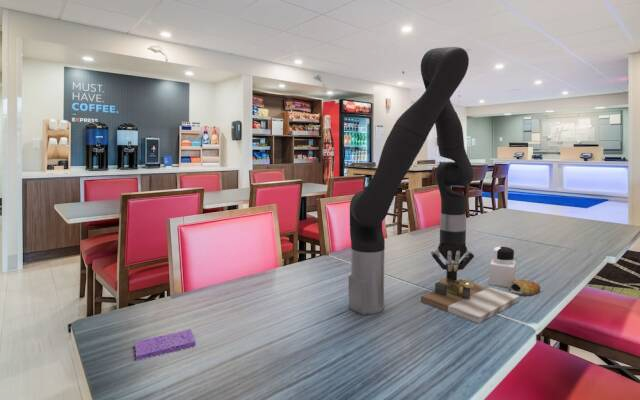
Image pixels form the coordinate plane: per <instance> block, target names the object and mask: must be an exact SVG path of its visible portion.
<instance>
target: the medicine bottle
mask: <svg viewBox="0 0 640 400" xmlns="http://www.w3.org/2000/svg"><path fill="white" fill-rule="evenodd" d="M514 255H515V250H514V249H513V248H511V247H509V246H508V247H507V246H496V247H494V248H493V255H492V259H491V261H490V263H489V270H488V271H489V273H488V284H489V285H490V286H497V287H498V286H499V287H503V288H508V285H509V284H510V283H511V282H512V281H514V280H516V268H517V262H516V261H515V258H514Z"/></svg>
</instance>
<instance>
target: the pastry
mask: <svg viewBox="0 0 640 400" xmlns="http://www.w3.org/2000/svg"><path fill="white" fill-rule="evenodd" d="M507 289H508V290H509V292H512V293H513V294H514V293H515V294H516V295H518V296H519V295H520V296H526V297H527V296H528V297H529V296H530V295H532V296H534V295H537V294H538V293H539V292H540V291H541V285H540V284H538V283H536V282H535V281H530V280H525V279H517V280H516V279H515V280H514V281H512V282H511V283H510V284H509V285H508V287H507Z"/></svg>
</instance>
